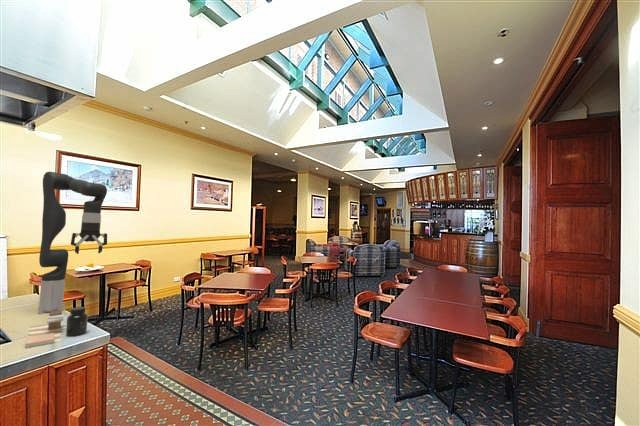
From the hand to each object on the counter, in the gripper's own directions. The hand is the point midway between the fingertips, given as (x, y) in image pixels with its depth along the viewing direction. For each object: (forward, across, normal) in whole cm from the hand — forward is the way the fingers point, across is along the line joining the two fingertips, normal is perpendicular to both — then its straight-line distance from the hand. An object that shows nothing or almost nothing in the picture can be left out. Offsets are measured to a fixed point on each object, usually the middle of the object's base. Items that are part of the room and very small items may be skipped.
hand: (88, 253), depth 143 cm
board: (+33, +13, +16) cm, 39 cm away
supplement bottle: (+33, +3, +24) cm, 41 cm away
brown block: (+32, +10, +15) cm, 36 cm away
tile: (+31, +14, +23) cm, 41 cm away
